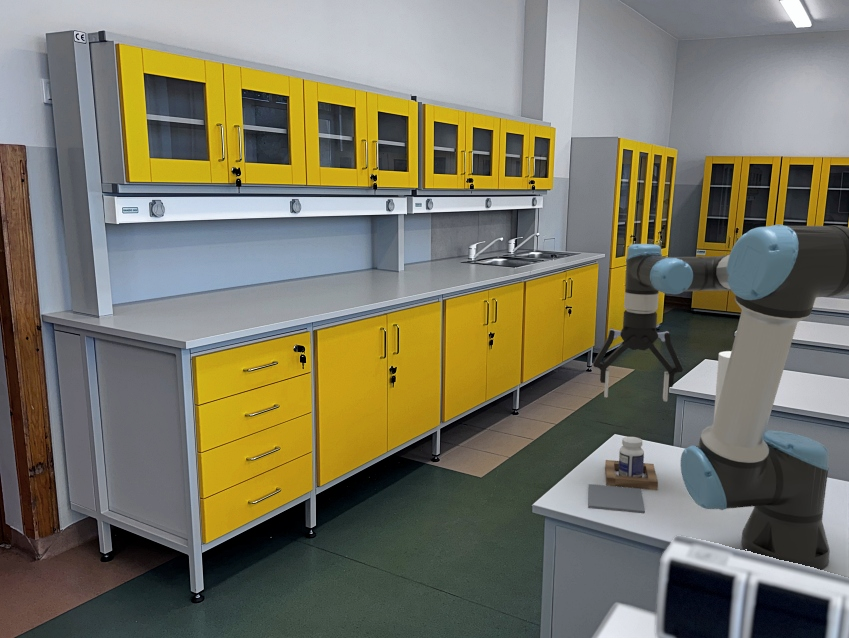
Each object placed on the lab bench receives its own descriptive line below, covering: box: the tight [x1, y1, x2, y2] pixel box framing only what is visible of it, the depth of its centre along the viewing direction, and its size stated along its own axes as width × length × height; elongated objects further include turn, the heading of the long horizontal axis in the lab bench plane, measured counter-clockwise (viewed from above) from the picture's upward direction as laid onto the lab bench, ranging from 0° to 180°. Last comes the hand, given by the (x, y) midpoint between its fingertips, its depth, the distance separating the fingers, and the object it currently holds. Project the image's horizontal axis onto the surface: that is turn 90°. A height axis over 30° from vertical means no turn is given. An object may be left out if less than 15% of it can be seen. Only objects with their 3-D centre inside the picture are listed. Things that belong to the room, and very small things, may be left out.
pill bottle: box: [618, 436, 645, 478], centre depth 169 cm, size 6×6×10 cm
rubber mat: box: [587, 483, 646, 514], centre depth 158 cm, size 12×12×1 cm
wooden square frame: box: [604, 459, 659, 491], centre depth 169 cm, size 12×12×2 cm
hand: (635, 397), depth 166 cm, fingers open, 13 cm apart
